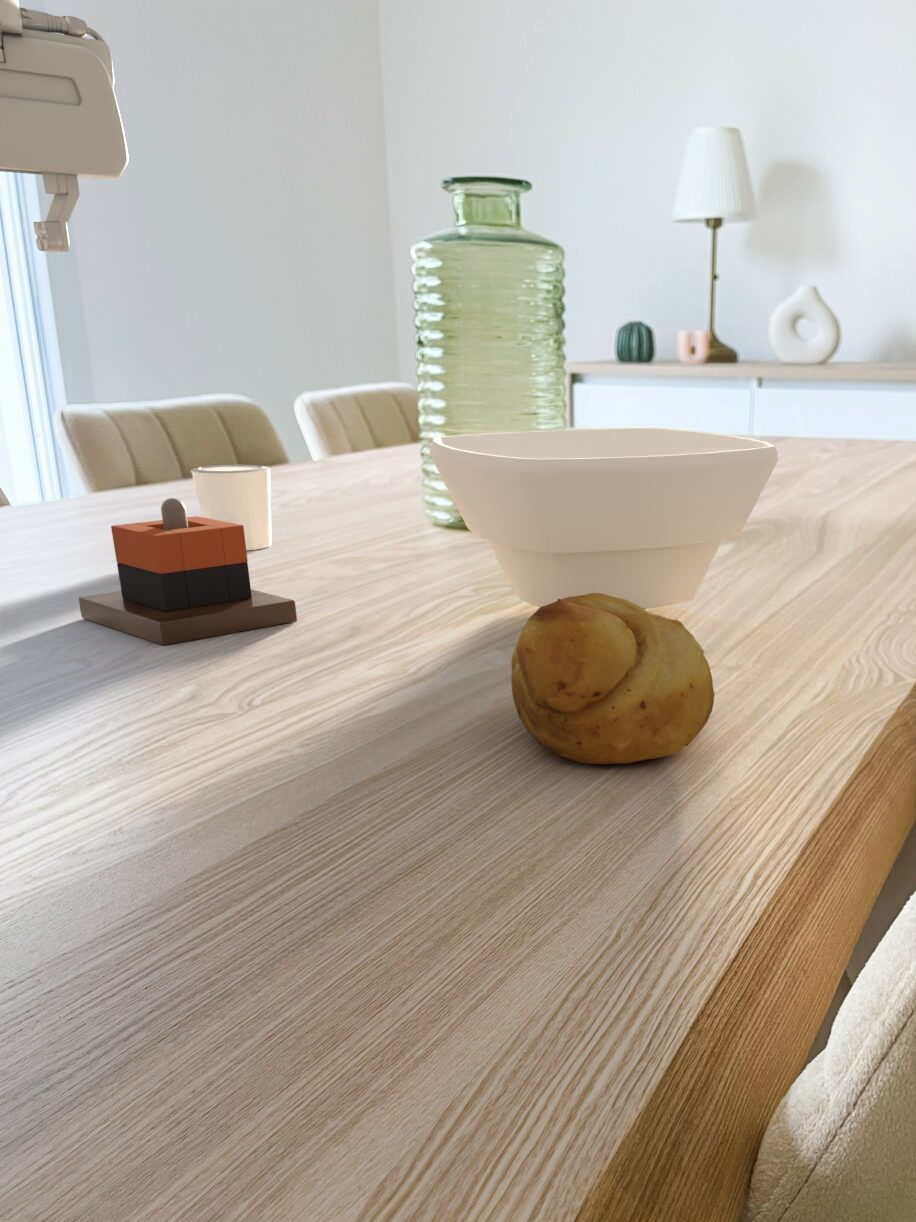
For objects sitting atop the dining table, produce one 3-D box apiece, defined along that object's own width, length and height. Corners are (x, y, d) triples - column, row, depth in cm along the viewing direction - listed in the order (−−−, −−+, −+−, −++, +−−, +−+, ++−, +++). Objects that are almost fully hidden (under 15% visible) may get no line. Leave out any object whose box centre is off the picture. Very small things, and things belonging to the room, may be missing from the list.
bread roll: (497, 708, 71) (490, 559, 67) (671, 697, 73) (672, 552, 69) (529, 785, 59) (522, 609, 56) (734, 770, 61) (739, 599, 58)
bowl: (409, 594, 99) (397, 435, 95) (664, 570, 109) (664, 424, 104) (517, 656, 81) (509, 464, 77) (812, 620, 91) (820, 447, 86)
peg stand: (81, 618, 92) (60, 497, 89) (210, 597, 98) (195, 484, 95) (163, 645, 84) (143, 514, 81) (297, 621, 91) (284, 499, 88)
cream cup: (219, 554, 116) (208, 473, 113) (189, 545, 121) (179, 467, 118) (290, 546, 120) (282, 468, 117) (259, 537, 125) (250, 462, 122)
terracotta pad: (116, 562, 90) (110, 525, 89) (201, 551, 94) (196, 516, 93) (161, 574, 86) (155, 535, 85) (248, 562, 90) (243, 525, 89)
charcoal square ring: (122, 598, 91) (116, 562, 90) (206, 586, 95) (201, 551, 94) (166, 612, 87) (160, 574, 86) (252, 598, 91) (247, 562, 90)
